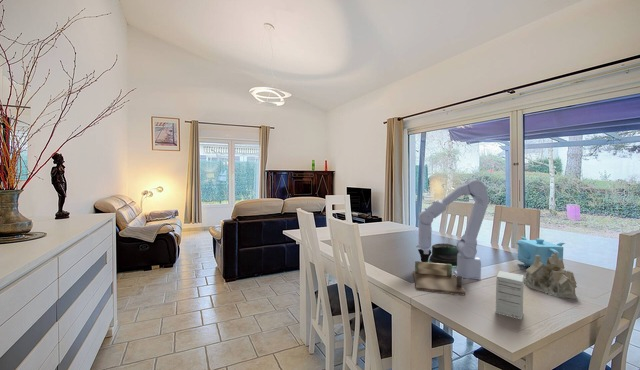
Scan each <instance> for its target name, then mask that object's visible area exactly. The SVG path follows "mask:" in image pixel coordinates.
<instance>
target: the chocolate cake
mask: <svg viewBox="0 0 640 370" xmlns="http://www.w3.org/2000/svg"><path fill="white" fill-rule="evenodd" d="M431 246H432V248H431V255H430V256H429V259H428V262H429V263H441V264H451V265H452V268H456V267H457V254H458V253H459V251H458V249H457V245H454V244H450V243H435V244H433V245H431Z"/></svg>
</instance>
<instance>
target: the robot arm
mask: <svg viewBox="0 0 640 370" xmlns="http://www.w3.org/2000/svg"><path fill="white" fill-rule="evenodd" d="M487 187H488V186H486V185H485V183H484V182H483V181H482V180H479V179H468V180H466V181H465V182H464V183H461V184H460V185H458V186H457V187H456V188H455V189H454V190H453V191H451V192H450V193H449V194H447V196H445V197H444V198H442V200H436V201H435V200H433V201H432V204H430V205H429V206H428V207H426V208H424V209H423V210H422V211H420V212H419V213H418V216H417V218H418V221H419V223H418V241H417V242H418V243H417V244H415V248H418V249H417V251H418V253H419V255H420V262H428V261H429V259H430V256H431V255H432V246H433V245H432V231H433V229H432V223H433V222H434V219H436V218H437V217H438V216H440V215H441V214H443V213H444V212H445V211H447V206H449V205H450V204H451V203H453V202H455V201H456V200H458V198H461V197H462V196H469V195H470V196H471V198H472V199H473V200H474V205H473V207H472V210H471V213H470V216H469V219H468V221H467V222H468V223H467V225H466V228H465V231H464V233H463V235H462V236H461V238H460V240H459V241H457V243H456V246H457V249H458V251H459V253H458V254H457V266H456V270H454V274H455V275H456V277H457V276H462V279H470V280H471V279H473V280H482V278H481V276H482V275H481V274H482V262H481V259H480V257H476V255H477V253H478V250H477V245H478V240H477V238H478V234H479V233H480V229H481V226H482V223H483V221H484V218H485V215H486V212H487V209H488V206H489V203H490V198H489V196H488V195H489V194H488V189H487Z"/></svg>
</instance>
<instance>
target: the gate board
mask: <svg viewBox="0 0 640 370" xmlns="http://www.w3.org/2000/svg"><path fill="white" fill-rule="evenodd" d="M413 278H414V283H415V289H416V291H424V292H434V293H442V292H443V293H444V294H451V293H452V294H453V295H461V294H464V295H463V296H466V295H467V294H466V291H465V288H464V287H463V278H462V276H457V275H456V274H452V276H443V275H432V274H421V273H415V270H413Z"/></svg>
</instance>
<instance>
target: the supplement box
mask: <svg viewBox="0 0 640 370" xmlns="http://www.w3.org/2000/svg"><path fill="white" fill-rule="evenodd" d="M524 278H525V275H523V274H519V273H514V272H513V273H512V272H508V271H503V270H499V271H498V273H497V274H496V281H495V282H496V287H495V288H496V289H495V313H496V312H497V313H496V314H498V313H500V314H499V315H502V314H504V315H503V316H505V315H508V316H507V317H509V316H512V317H511V318H513V317H515V318H514V319H517V318H519V319H518V320H522V319H523V314H524V313H523V312H524V286H525V284H524Z"/></svg>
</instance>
